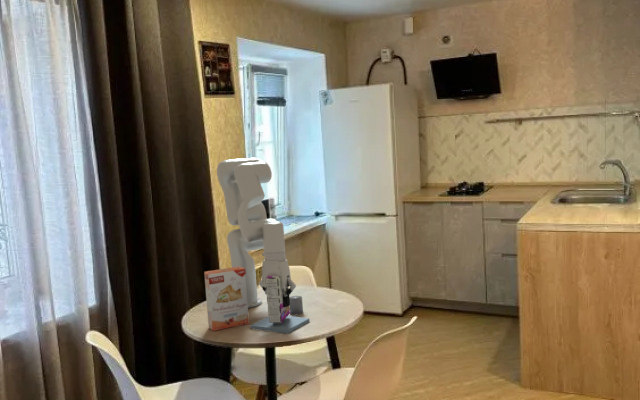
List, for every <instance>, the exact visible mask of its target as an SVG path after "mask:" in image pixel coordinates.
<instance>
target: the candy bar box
mask: <svg viewBox="0 0 640 400" xmlns="http://www.w3.org/2000/svg"><path fill="white" fill-rule="evenodd" d="M265 279H266V290H267V295H266V302H268V303H267V311H268V312H267V313H268V317H269V323H282V322H283V321H284V319H285V318H286V317H287V316H290V315H291V314H290V305H289V306H287V307H283V296H284V295H283V292H282V289H281V286H280V277H279V276H268V277H266V278H265ZM285 290H286V289H285ZM289 314H290V315H289Z"/></svg>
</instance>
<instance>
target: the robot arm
mask: <svg viewBox="0 0 640 400" xmlns="http://www.w3.org/2000/svg"><path fill="white" fill-rule="evenodd" d="M271 169H272V168H271V167H270V166H269V164H268V162H266V161H264V160H262V159H259V158H257V157H250V158H249V157H247V158H234V159H231V158H230V159H225V160H222V161H220V162H219V163H218V164H217V167H216V175H217V176H216V177H217V181H218V183H219V186H220V188H221V190H222V193H223V196H224V203H225V204H224V205H225V211H226V216H227V220H228V223H229V224H230V225H231V226H238V227H239V228H236V229H233V230H230V231H229V232H228V234H227V236H226V241H227V247H228V250H229V255H230V264H231V265H230V266H231V268H232V267H239V266H240V267H242V268H244V269H245V272H246V286H247V301H248V309H249V308H254V307H257V306H260V305H261V304H263V303H262V299H261V298H259V297H258V287H257V275H256V262H255V259H254V257H252V256H251V254H250V253H249V252H251V251H256V250H262V249H263V251H262V253H261V254H262V257H263V258H264V259H263V260H262V264H261V280H260V281H259V282H258V285H259V286H260V287H261V288H262V290H263V292H264V294H265V295H266V296H267V290H266V279H265V278H266V277H268V276H279V277H280V286H281V289H282V292H283V295H284V296H283V307H287V306H289V307H290V297H291V296H290V295H291V294H292V293H293V291H294V290H295V289H296V287H297V285H296V284H295V282H293V280H292V276H291V270H290V266H289V261H288V259H287V256H286V241H285V231H284V230H285V228H284V224H283V223H282V221H278V220H277V219H275V218H267V211H266V208H265V205H264V203H263V201H264V199H265V192H264V189H263V187H262V184H267V183H269V182H270V181H271V180H272V176H273V175H272V170H271ZM285 289H286V290H285ZM266 302H267V301H266ZM267 304H268V302H267Z"/></svg>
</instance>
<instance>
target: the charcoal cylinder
mask: <svg viewBox="0 0 640 400" xmlns="http://www.w3.org/2000/svg"><path fill="white" fill-rule="evenodd" d="M289 297H290V305H289V308H290V315H293V316H295V315H301V314H303V313H304V307H303V296H302V295H293V296H289Z"/></svg>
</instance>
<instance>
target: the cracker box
mask: <svg viewBox="0 0 640 400" xmlns="http://www.w3.org/2000/svg"><path fill="white" fill-rule="evenodd" d="M203 274H204V285H205V298H206V309H207V310H206V311H207V323H208V327H209V329H210V330H211V331H213V332H214V331H220V330H223V329H228V328H233V327H237V326H244V325H248V324H249V323H250V319H249V318H250V317H249V308H248V301H247V286H246V272H245V269H244V268H242V267H240V266H239V267H232V266H231V267H227V268H220V269H215V270H207V271H204V273H203Z"/></svg>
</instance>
